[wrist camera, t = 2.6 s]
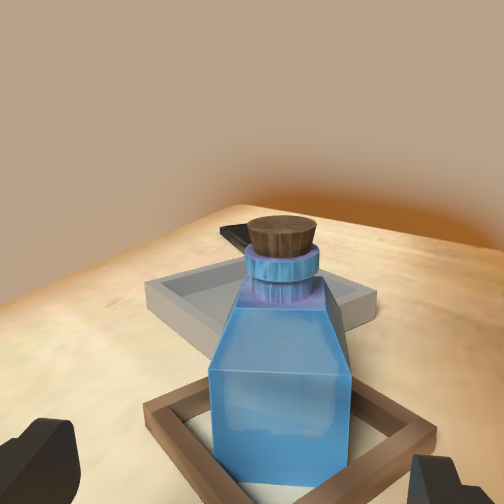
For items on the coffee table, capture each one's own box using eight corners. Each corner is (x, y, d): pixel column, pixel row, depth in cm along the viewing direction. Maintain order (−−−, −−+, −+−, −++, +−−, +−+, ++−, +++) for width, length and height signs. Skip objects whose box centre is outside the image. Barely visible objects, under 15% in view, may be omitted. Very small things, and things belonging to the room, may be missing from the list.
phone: (268, 220, 66) (317, 249, 53) (268, 228, 66) (317, 258, 53) (216, 227, 63) (255, 258, 50) (217, 234, 64) (255, 267, 50)
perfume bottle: (215, 480, 22) (199, 243, 18) (234, 400, 28) (226, 208, 24) (345, 489, 21) (358, 244, 17) (337, 405, 27) (345, 208, 23)
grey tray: (269, 272, 48) (269, 249, 47) (375, 318, 37) (377, 290, 36) (147, 308, 40) (144, 282, 39) (235, 380, 29) (234, 346, 29)
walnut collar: (292, 360, 32) (292, 340, 31) (434, 451, 23) (437, 427, 23) (145, 425, 25) (142, 403, 25) (264, 582, 17) (264, 553, 16)
